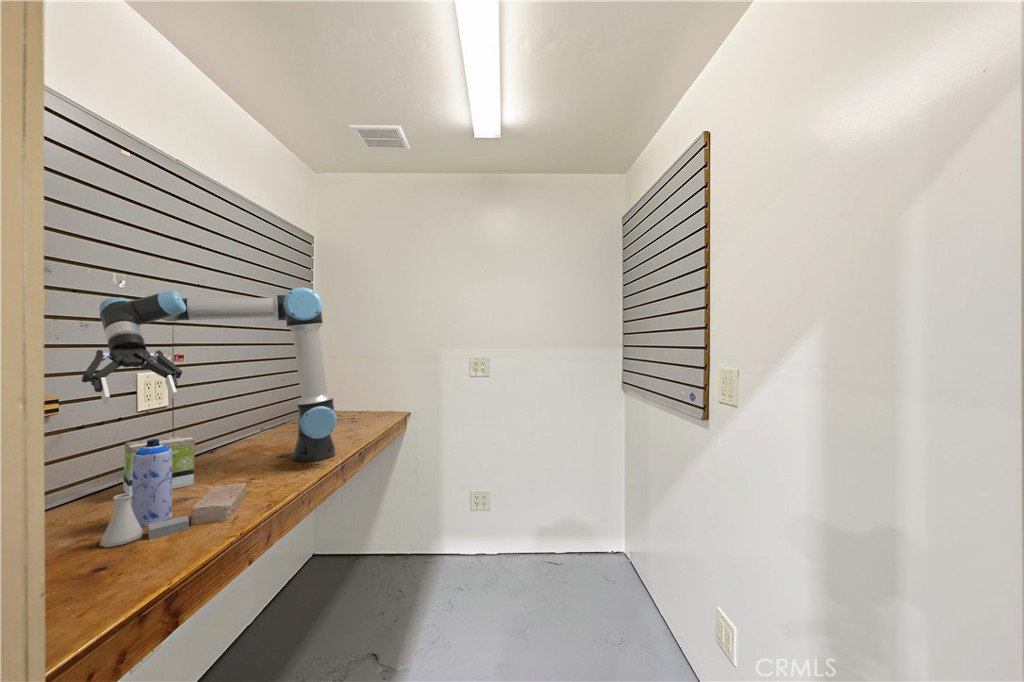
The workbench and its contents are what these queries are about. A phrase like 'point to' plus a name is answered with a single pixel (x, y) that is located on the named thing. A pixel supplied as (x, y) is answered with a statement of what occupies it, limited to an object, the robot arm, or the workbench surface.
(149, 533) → the block
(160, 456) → the aerosol can
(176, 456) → the tea box
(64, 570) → the workbench surface
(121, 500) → the flask
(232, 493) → the brick
